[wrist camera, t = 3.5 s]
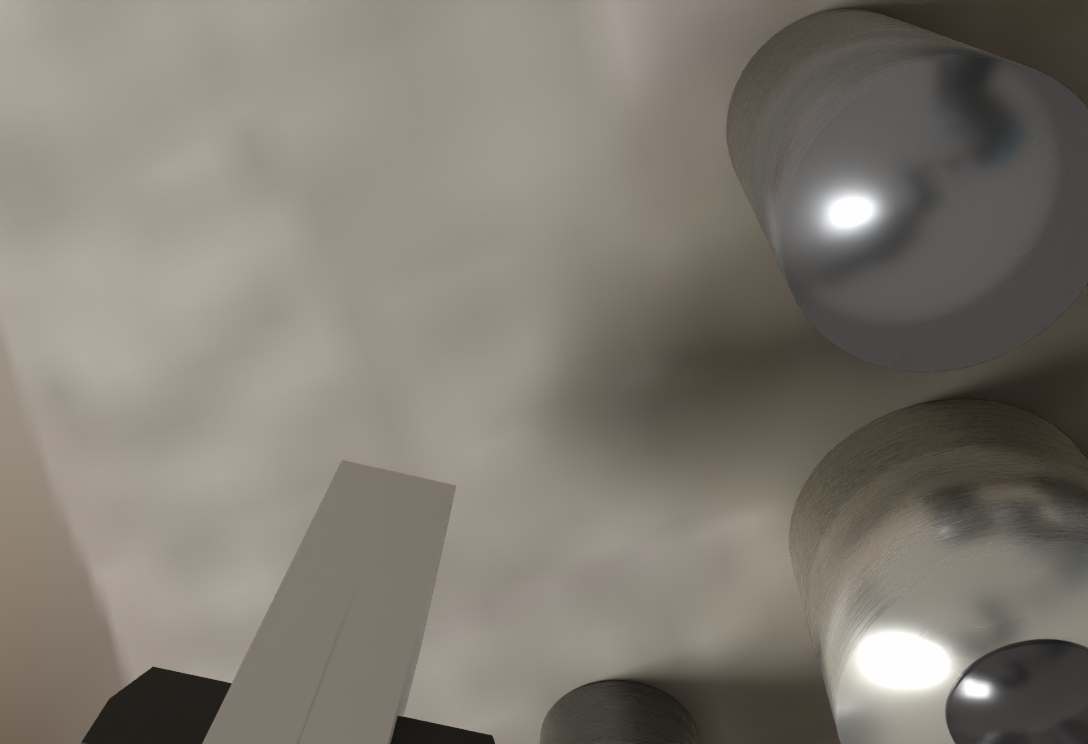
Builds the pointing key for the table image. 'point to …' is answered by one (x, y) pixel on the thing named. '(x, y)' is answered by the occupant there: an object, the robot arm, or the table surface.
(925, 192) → the spacer field
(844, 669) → the silver metal cylinder
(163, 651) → the table surface
